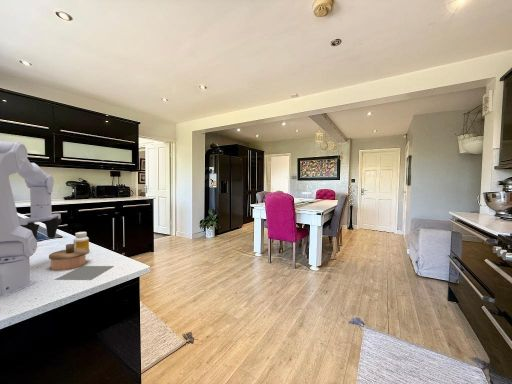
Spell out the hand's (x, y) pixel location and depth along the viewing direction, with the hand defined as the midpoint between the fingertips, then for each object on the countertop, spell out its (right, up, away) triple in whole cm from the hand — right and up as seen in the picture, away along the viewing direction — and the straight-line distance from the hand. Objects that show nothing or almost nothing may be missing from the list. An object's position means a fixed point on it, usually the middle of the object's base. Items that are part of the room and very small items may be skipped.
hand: (42, 240), depth 86 cm
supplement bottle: (+4, -10, +14) cm, 18 cm away
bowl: (+10, -10, 0) cm, 14 cm away
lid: (+10, -6, 0) cm, 12 cm away
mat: (+22, -10, -6) cm, 25 cm away
